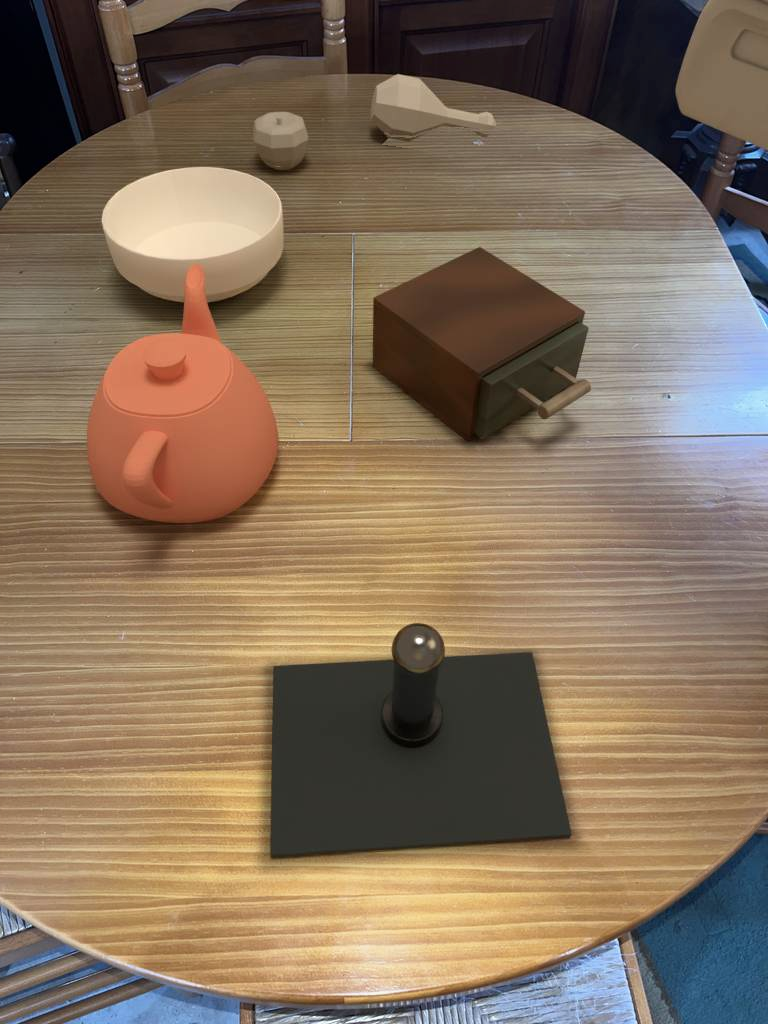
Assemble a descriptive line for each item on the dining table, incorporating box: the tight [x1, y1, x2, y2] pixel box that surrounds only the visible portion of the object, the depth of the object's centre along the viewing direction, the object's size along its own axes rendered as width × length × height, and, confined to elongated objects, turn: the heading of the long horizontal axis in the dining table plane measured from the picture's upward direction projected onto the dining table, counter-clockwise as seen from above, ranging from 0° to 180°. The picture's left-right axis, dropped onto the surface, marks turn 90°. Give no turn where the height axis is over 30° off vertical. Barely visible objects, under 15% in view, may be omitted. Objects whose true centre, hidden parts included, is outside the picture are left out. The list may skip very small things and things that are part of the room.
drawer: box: [474, 322, 592, 440], centre depth 81 cm, size 18×13×7 cm
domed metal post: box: [381, 622, 446, 748], centre depth 55 cm, size 4×4×12 cm
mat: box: [269, 651, 573, 859], centre depth 58 cm, size 20×14×1 cm
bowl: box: [101, 166, 284, 304], centre depth 93 cm, size 20×20×8 cm
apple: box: [252, 111, 309, 171], centre depth 112 cm, size 8×8×7 cm
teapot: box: [86, 264, 279, 524], centre depth 72 cm, size 25×17×13 cm
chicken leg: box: [370, 73, 497, 143], centre depth 118 cm, size 8×18×8 cm, turn 94°
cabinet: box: [372, 246, 586, 443], centre depth 82 cm, size 15×15×9 cm
